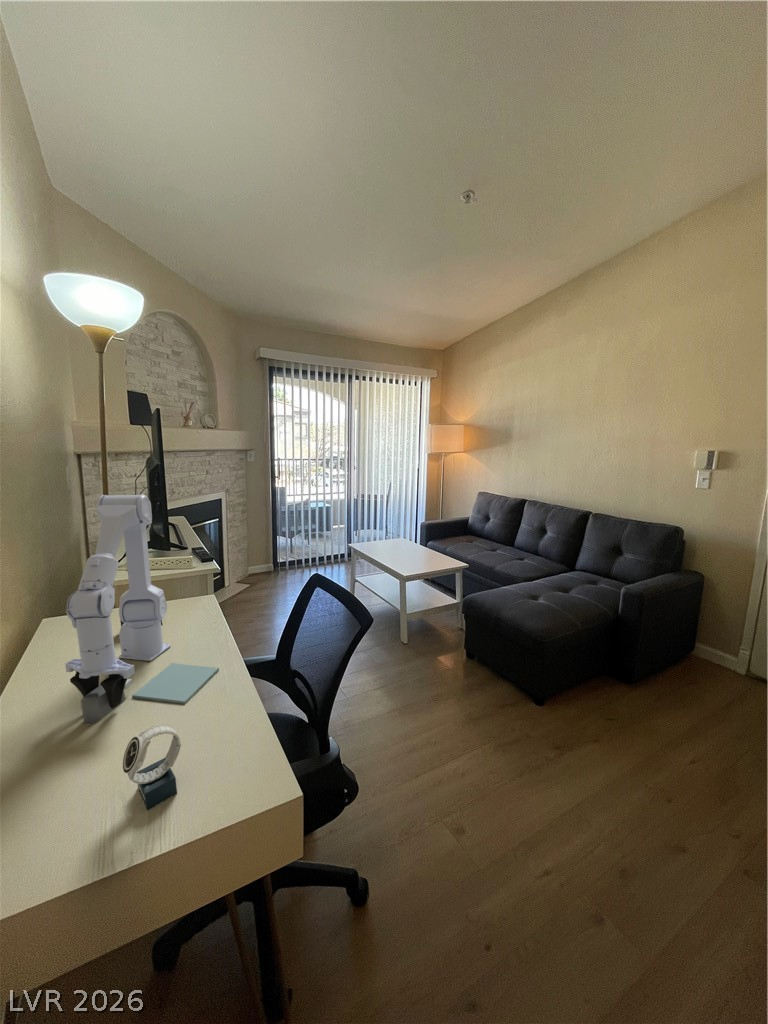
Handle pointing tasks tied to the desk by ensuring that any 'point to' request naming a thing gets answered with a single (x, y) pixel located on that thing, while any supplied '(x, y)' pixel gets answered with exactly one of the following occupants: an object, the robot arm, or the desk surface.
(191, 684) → the mat
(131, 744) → the watch
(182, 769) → the desk surface
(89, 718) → the plug
